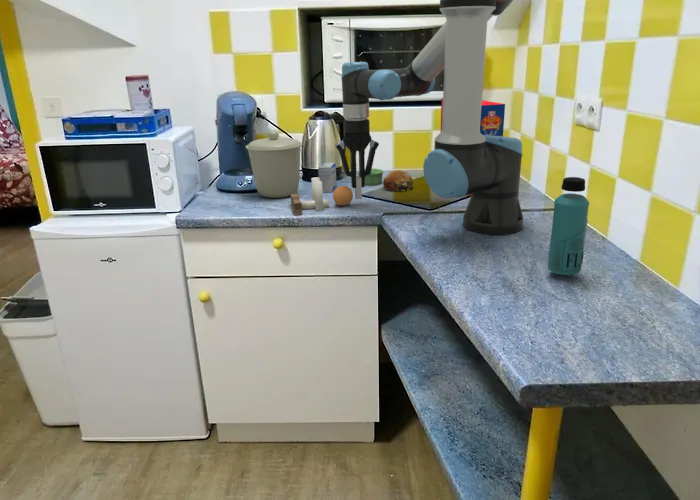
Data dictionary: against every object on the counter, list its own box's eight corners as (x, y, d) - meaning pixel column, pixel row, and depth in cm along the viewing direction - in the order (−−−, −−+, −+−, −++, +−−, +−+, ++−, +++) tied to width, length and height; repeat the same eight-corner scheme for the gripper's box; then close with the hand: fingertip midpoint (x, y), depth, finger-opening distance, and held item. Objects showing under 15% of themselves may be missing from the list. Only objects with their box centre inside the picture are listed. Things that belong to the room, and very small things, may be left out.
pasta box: (439, 179, 189) (441, 98, 179) (459, 177, 190) (463, 97, 181) (475, 199, 163) (480, 105, 153) (498, 196, 165) (505, 103, 155)
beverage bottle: (563, 284, 103) (575, 183, 96) (538, 273, 108) (548, 176, 101) (588, 278, 105) (601, 179, 98) (563, 267, 111) (574, 173, 104)
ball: (336, 188, 155) (332, 207, 158) (356, 192, 157) (351, 210, 159) (334, 181, 161) (329, 199, 163) (353, 184, 162) (348, 202, 165)
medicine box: (332, 192, 176) (331, 167, 173) (319, 192, 177) (317, 167, 174) (336, 187, 183) (335, 162, 180) (324, 187, 184) (323, 162, 181)
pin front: (328, 200, 158) (300, 203, 157) (329, 208, 159) (300, 210, 158) (327, 198, 160) (299, 200, 159) (327, 205, 161) (300, 208, 160)
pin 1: (321, 206, 161) (319, 178, 158) (313, 206, 161) (311, 179, 158) (320, 204, 163) (318, 177, 160) (312, 204, 163) (310, 177, 160)
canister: (311, 188, 183) (307, 126, 175) (297, 202, 166) (292, 134, 159) (261, 187, 186) (255, 126, 179) (242, 201, 169) (235, 134, 162)
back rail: (302, 214, 153) (301, 203, 152) (295, 215, 153) (294, 203, 151) (297, 204, 164) (297, 193, 163) (291, 204, 164) (290, 193, 162)
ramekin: (385, 180, 191) (385, 168, 189) (380, 186, 182) (380, 174, 181) (360, 180, 193) (360, 168, 191) (355, 186, 184) (355, 173, 183)
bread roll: (412, 196, 183) (412, 173, 183) (413, 190, 173) (413, 166, 173) (383, 196, 184) (383, 173, 184) (382, 190, 174) (382, 166, 174)
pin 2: (323, 210, 156) (322, 182, 153) (315, 211, 156) (314, 183, 153) (322, 208, 159) (321, 180, 156) (314, 209, 158) (313, 181, 155)
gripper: (375, 116, 157) (376, 193, 166) (331, 118, 155) (335, 196, 163) (381, 118, 150) (382, 199, 159) (336, 121, 148) (339, 203, 156)
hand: (358, 198), depth 161 cm, fingers closed
